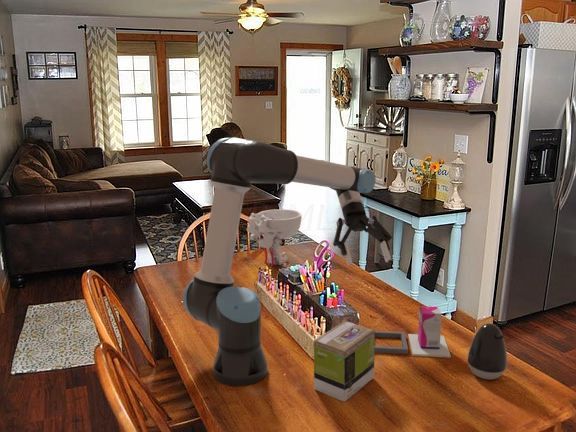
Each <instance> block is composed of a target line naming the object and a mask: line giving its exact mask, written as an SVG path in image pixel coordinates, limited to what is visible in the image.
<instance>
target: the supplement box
mask: <svg viewBox="0 0 576 432" xmlns="http://www.w3.org/2000/svg"><path fill="white" fill-rule="evenodd" d="M418 311H419V312H418V328H417V329H418V331H417V334H418V341H419V344H420V347H421V348H427V349H440V335H441V333H442V332H441V330H442V329H441V328H442V317H443V316H442V312H441V311H440V308H439V307H438V306H426V305H425V306H424V305H423V306H422V305H420V306H419V310H418Z"/></svg>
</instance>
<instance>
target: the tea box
mask: <svg viewBox="0 0 576 432" xmlns="http://www.w3.org/2000/svg"><path fill="white" fill-rule="evenodd" d="M375 331H376V330H375V329H373V328H370V327H366V326H362V325H360V324H356V323H353V322H351V321H350V322H349V321H347V320H344V321H342V322H341V323H339V324H337V325H336V326H334V327H332V328H331V329H330V330H328V331H326V332H325V333H323V334H321V335H320V336H319V337H317V338H316V339H313V375H314V376H313V388H314V390H316V391H318V392H321V393H322V394H325V395H326V396H329V397H331V398H333V399H335V400H338V401H341V402H344V403H345V402H346V401H347V400H348V399H350V398H351V397H352V396H353V395H355V394H356V393H357V392H358V391H360V390H361V389H362V388H363V387H365V386H366V385H367V384H368V383H369V382H370V381H372V380H373V379H374V378H375V352H374V346H376V345H375V342H376V341H375V338H376V337H375Z"/></svg>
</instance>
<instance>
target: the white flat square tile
mask: <svg viewBox="0 0 576 432" xmlns="http://www.w3.org/2000/svg"><path fill="white" fill-rule="evenodd" d="M407 336H408V341H409V346H410V350H411V353H412V354H411V355H412V356H413V357H429V358H431V357H432V358H446V359H448V358H450V359H451V358H452V355H451V353H450V350H449V347H448V345H447V341H446V339H445V337H444V335H441V334H440V349H427V348H421V347H420V344H419V341H418V333H408V334H407Z"/></svg>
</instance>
